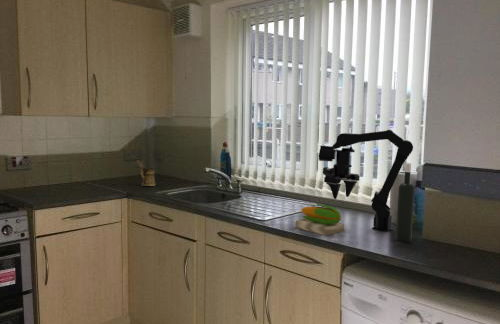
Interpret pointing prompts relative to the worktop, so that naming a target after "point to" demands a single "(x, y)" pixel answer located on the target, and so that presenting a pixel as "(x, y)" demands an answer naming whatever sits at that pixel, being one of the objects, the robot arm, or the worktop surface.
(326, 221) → the corn
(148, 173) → the wooden mug
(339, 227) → the birch base
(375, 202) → the robot arm
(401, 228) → the wine bottle
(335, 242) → the worktop surface
